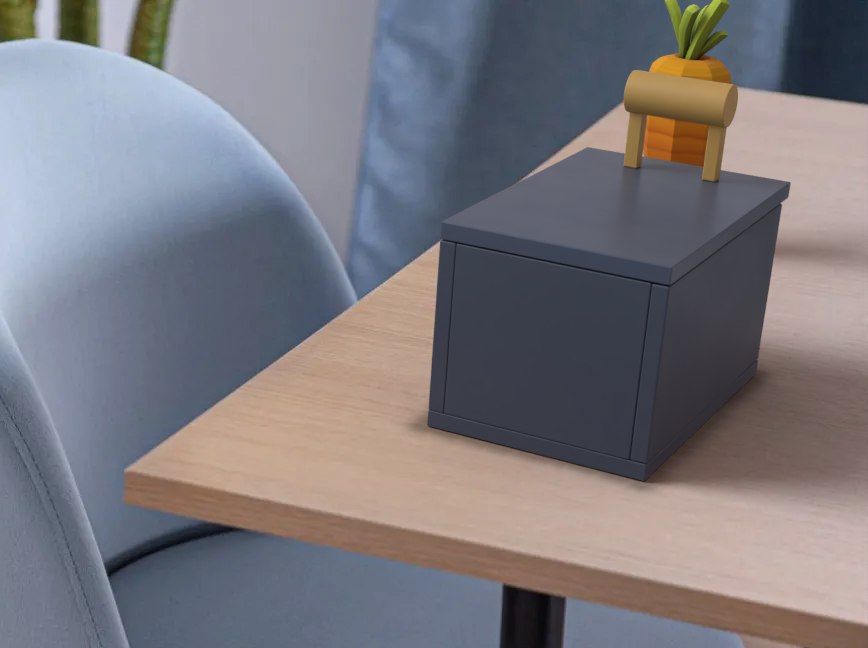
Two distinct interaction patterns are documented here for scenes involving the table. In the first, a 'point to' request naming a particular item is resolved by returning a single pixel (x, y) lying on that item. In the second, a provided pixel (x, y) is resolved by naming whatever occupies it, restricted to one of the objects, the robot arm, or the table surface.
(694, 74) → the carrot
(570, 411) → the chest
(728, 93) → the lid
